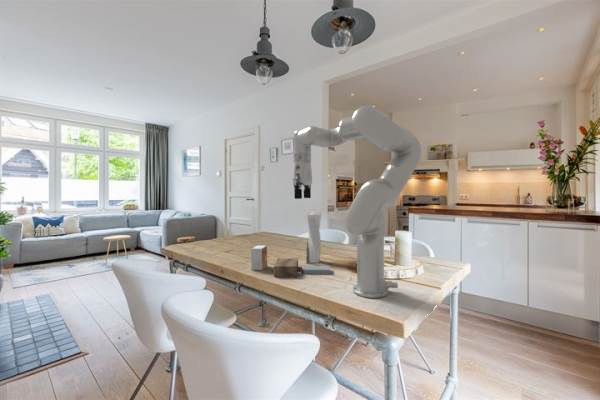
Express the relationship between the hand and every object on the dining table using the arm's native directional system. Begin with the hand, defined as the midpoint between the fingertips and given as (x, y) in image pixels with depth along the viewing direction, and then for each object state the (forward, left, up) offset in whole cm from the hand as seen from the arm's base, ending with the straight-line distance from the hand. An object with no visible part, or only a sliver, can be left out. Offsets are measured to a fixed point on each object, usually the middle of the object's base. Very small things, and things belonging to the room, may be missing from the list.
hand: (302, 198), depth 119 cm
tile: (-6, -5, -35) cm, 36 cm away
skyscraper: (-5, -24, -35) cm, 43 cm away
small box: (+22, -12, -35) cm, 43 cm away
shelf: (+8, -5, -34) cm, 36 cm away
